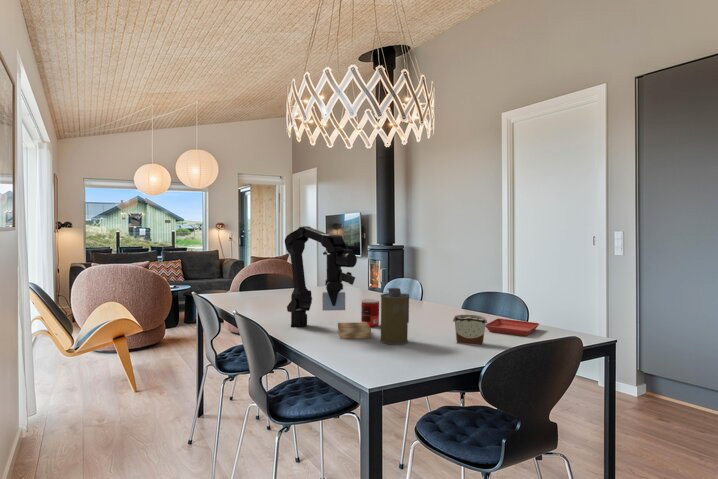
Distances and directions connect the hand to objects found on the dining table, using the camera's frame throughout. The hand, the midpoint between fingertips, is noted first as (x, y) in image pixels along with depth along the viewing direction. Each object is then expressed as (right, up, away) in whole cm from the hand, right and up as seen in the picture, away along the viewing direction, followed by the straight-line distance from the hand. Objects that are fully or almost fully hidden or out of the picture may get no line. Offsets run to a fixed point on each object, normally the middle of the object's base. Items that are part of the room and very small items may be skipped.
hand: (333, 305), depth 188 cm
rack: (+8, -12, -1) cm, 14 cm away
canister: (+23, -12, -11) cm, 29 cm away
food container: (+52, -12, -12) cm, 54 cm away
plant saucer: (+74, -13, +10) cm, 76 cm away
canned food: (+15, -11, +18) cm, 26 cm away
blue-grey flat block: (0, -2, 0) cm, 2 cm away
